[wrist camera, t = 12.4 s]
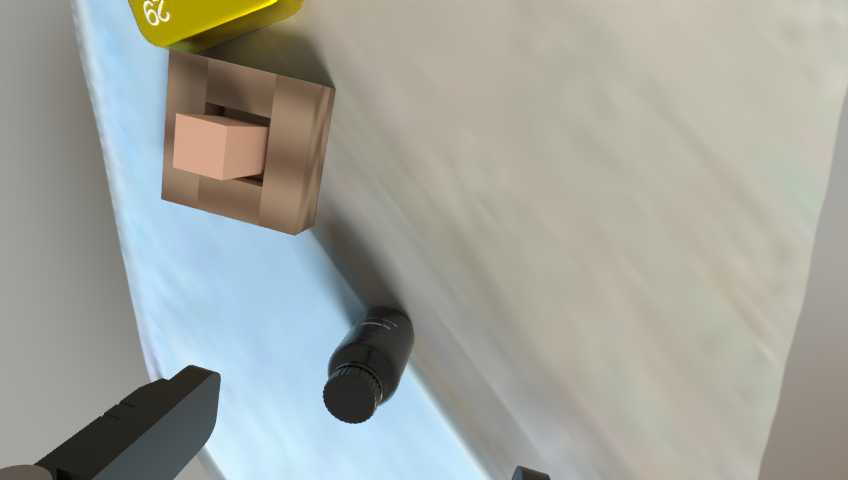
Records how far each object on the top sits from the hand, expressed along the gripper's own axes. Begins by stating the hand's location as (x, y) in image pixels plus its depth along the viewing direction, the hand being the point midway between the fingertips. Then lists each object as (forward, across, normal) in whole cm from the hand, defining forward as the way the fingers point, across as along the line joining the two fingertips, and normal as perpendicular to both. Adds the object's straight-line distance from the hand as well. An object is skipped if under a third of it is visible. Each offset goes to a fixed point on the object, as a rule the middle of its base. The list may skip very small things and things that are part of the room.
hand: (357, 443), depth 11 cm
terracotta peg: (+31, +21, -2) cm, 37 cm away
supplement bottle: (+32, +4, +15) cm, 36 cm away
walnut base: (+32, +21, -2) cm, 38 cm away
